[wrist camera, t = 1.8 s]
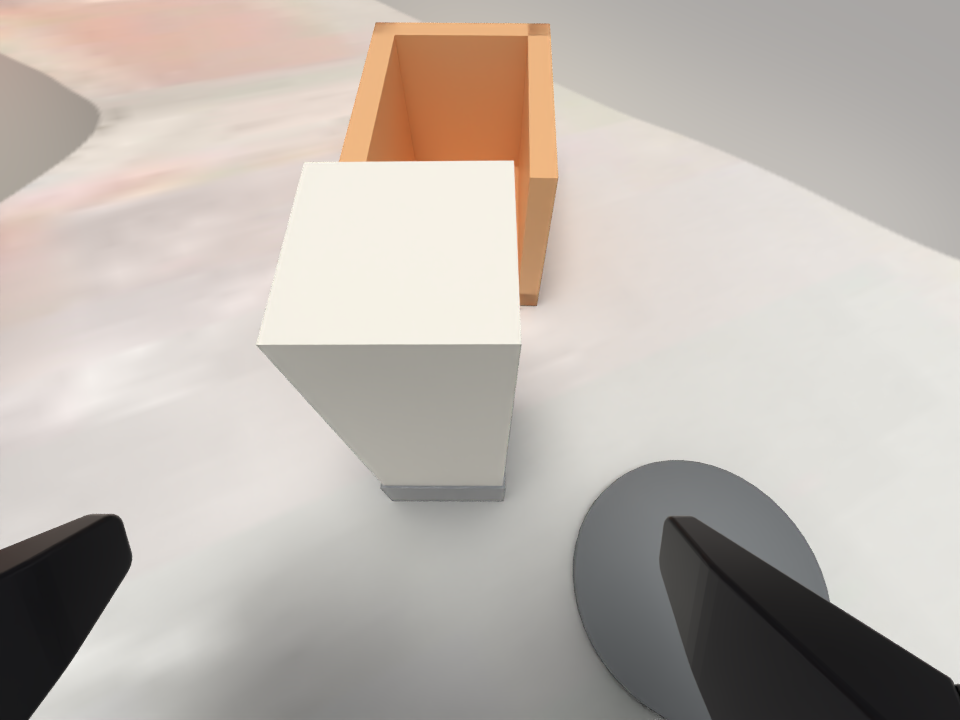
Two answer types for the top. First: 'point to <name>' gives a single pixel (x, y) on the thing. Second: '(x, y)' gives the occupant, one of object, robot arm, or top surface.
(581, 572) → the pad dark
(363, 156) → the chute
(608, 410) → the top surface
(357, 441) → the tall white pillar block
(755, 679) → the robot arm
